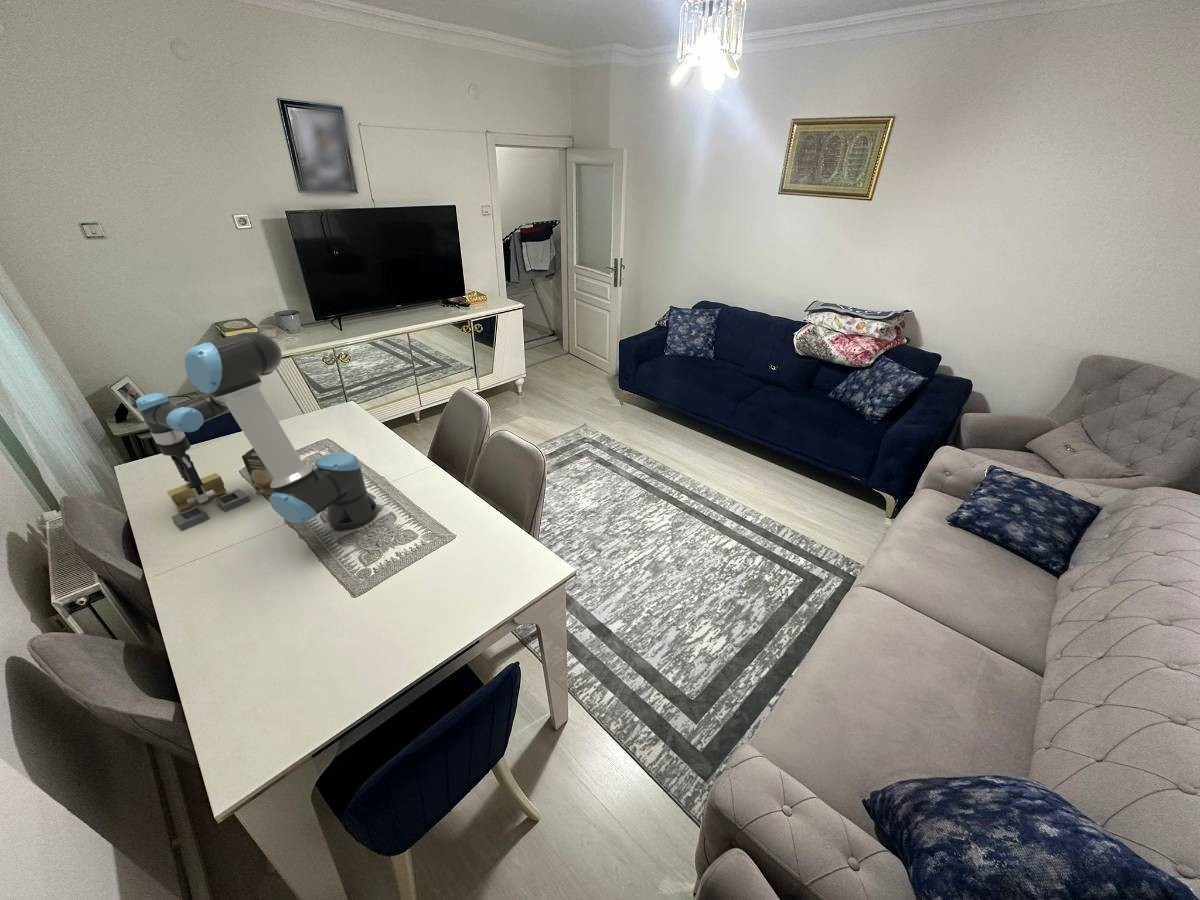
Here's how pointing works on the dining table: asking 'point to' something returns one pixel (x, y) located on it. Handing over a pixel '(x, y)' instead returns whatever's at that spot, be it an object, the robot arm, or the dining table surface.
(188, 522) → the silver square rings
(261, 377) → the robot arm
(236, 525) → the dining table surface
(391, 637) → the dining table surface
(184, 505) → the tall gold block
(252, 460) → the coffee box
